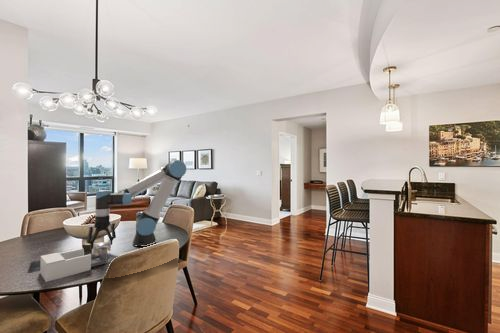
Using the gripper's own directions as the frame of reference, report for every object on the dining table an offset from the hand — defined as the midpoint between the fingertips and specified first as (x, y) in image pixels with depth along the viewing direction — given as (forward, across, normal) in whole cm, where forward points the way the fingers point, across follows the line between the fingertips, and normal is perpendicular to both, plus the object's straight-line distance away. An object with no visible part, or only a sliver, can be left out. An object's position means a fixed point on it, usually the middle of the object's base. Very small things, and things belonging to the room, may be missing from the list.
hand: (101, 252), depth 143 cm
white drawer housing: (+2, +20, +12) cm, 23 cm away
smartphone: (+2, +28, -6) cm, 29 cm away
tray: (+1, +11, +12) cm, 16 cm away
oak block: (+2, 0, 0) cm, 2 cm away
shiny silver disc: (-3, 0, 0) cm, 3 cm away
